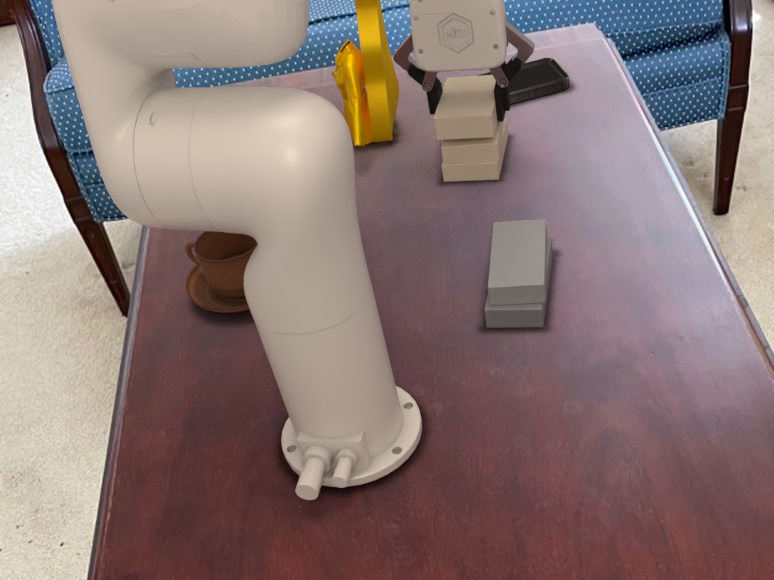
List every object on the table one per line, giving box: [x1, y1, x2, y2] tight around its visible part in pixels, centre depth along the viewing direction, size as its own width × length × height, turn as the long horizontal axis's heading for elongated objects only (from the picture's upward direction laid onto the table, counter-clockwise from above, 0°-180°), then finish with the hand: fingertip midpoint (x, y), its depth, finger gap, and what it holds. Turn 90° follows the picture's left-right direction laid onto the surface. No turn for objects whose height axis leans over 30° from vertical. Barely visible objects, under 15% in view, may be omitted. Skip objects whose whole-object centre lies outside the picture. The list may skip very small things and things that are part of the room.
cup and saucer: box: [184, 231, 258, 314], centre depth 99 cm, size 12×12×6 cm
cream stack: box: [440, 115, 509, 183], centre depth 112 cm, size 10×7×4 cm
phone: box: [475, 57, 570, 105], centre depth 124 cm, size 8×1×15 cm
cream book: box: [432, 75, 497, 141], centre depth 109 cm, size 10×7×3 cm, turn 172°
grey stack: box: [483, 218, 554, 329], centre depth 94 cm, size 12×6×4 cm, turn 172°
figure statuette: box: [331, 0, 400, 148], centre depth 113 cm, size 18×8×22 cm, turn 5°
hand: (470, 116), depth 110 cm, fingers closed on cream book, 6 cm apart
